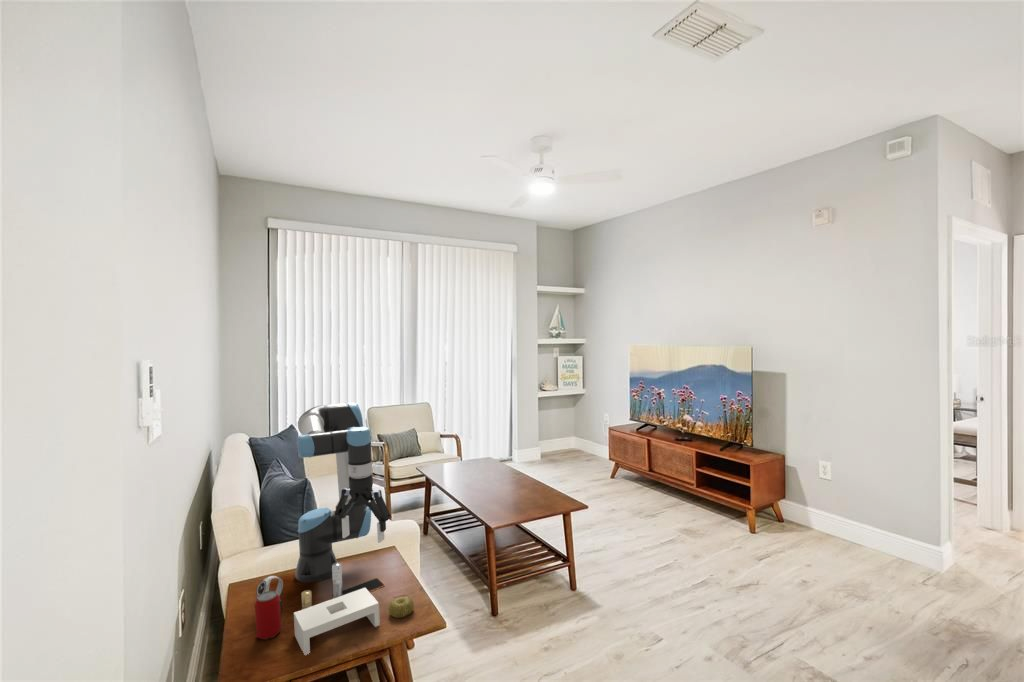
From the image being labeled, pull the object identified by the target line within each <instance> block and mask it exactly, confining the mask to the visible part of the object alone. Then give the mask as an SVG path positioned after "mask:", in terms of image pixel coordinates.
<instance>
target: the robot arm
mask: <svg viewBox="0 0 1024 682" xmlns="http://www.w3.org/2000/svg"><path fill="white" fill-rule="evenodd" d="M297 428H298V429H297V430H298V431H299V433H300V435H298V436H297V440H296V442H297V443H296V444H297V455H298V458H301V459H303V458H313V457H321V456H326V455H333V454H335V461H336V474H337V476H336V477H337V487H338V488H337V489H338V502H337V503H336V504H335V510H334V511H333V510H332V511H331V509H330V508H328V507H320V508H319V507H318V508H316V509H312V510H310V511H307V512H306V513H304V514H303V515H301V516H300V518H299V519H298V529H297V533H298V547H299V549H298V550H299V556H298V557H299V558H298V561H297V565H296V567H295V579H296V580H297V582H300V583H316V582H319V581H324V580H326V579H328V578H330V577H332V564H334V563H337V562H338V560H337V558H336V557H337V556H336V555H335V553H334V550H333V544H335V543H339V542H344V541H349V540H355V539H359V538H362V537H366V536H367V535H368V534H369V533H370V530H371V524H372V514H373V515H374V517H375V518H376V520H377V521H378V522H377V523H376V528H377V529H376V531H377V533H376V535H377V544H378V543H381V542H383V541H384V540H385V531H387V530H386V529H387V521H388V520H391V518H392V516H391V513H390V511H389V508H388V506H387V504H386V503H385V500H384V498H383V494H382V490H380V489H378V490H373V485H374V480H373V479H374V478H373V476H374V475H373V460H372V435H371V429H370V428H369V427H366V426H364V422H363V415H362V411H361V409H360V405H359V404H358V403H356V402H343V403H342V402H341V403H332V404H324V405H323V404H322V405H317V406H313V407H311V408H309V409H307V410H306V411H305V412H303V413H302V414H301V416H300V417H299V419H298V421H297Z"/></svg>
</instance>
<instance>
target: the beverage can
mask: <svg viewBox="0 0 1024 682" xmlns="http://www.w3.org/2000/svg"><path fill="white" fill-rule="evenodd" d="M256 597H257V596H256ZM280 600H281V598H280V596H279V595H278V594H277V592H276V590H269V591H267V592H264V593H262V594H260V595H259V596H258V597H257V598H256V601H255V603H254V609H255V610H254V611H255V626H256V627H255V629H256V632H255V633H256V637H257V638H258V639H261V640H269V638H270V639H272V638H274V637H276V636H277V635H278V634H279V633H280V632H281V630H282V617H281V616H282V615H281V612H282V611H280Z"/></svg>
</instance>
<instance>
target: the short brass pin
mask: <svg viewBox="0 0 1024 682" xmlns="http://www.w3.org/2000/svg"><path fill="white" fill-rule="evenodd" d="M300 594H301V610H303V609H306V608H308V607H311V606H313V598H312V596H313V595H312V590H310V589H307V590H306V589H305V590H304V591H302V592H301V593H300Z"/></svg>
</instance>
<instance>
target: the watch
mask: <svg viewBox="0 0 1024 682" xmlns="http://www.w3.org/2000/svg"><path fill="white" fill-rule="evenodd" d="M273 579H277V580H278V582H277V586H276V589H275V591H276V592H277V594H278V595H279V597H280V595H281V593H282V591H283V587H284V581H283V579H281V577H278V576H276V575H269V576H267V577H265V578H263V580H262V581H260V582H259V583H258V584H257V587H256V592H255V593H256V594H255V595H256V597H258V596H259V595H260V594H262V593H264V592H267V591H270V585H271V581H272V580H273ZM282 602H283V601H282V599H280V612H282V610H283V603H282Z"/></svg>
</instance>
